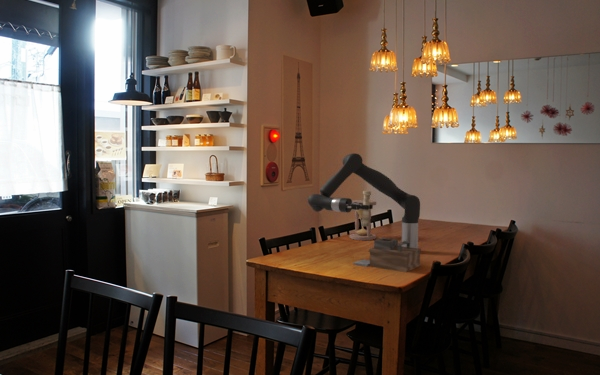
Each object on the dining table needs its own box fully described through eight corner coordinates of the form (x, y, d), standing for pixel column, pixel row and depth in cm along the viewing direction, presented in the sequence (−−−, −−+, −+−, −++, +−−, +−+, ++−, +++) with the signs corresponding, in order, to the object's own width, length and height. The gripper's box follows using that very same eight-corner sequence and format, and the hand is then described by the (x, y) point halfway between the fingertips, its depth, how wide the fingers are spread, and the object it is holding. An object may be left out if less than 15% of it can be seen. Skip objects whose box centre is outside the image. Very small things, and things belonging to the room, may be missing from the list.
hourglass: (380, 239, 342) (380, 202, 340) (356, 241, 337) (356, 202, 335) (368, 235, 359) (369, 199, 357) (345, 236, 353) (345, 200, 352)
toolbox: (383, 260, 276) (384, 236, 275) (420, 266, 264) (421, 240, 263) (368, 266, 262) (368, 240, 261) (406, 272, 250) (407, 245, 249)
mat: (362, 261, 275) (362, 259, 275) (376, 263, 270) (376, 261, 270) (353, 264, 267) (353, 262, 267) (367, 266, 262) (367, 264, 262)
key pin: (363, 224, 270) (365, 190, 268) (370, 226, 268) (372, 191, 266) (359, 225, 267) (361, 191, 265) (366, 226, 264) (368, 191, 262)
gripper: (334, 198, 269) (364, 200, 259) (348, 197, 280) (377, 199, 270) (334, 213, 269) (363, 215, 259) (348, 210, 281) (376, 213, 271)
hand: (370, 207), depth 265 cm, fingers closed on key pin, 3 cm apart
